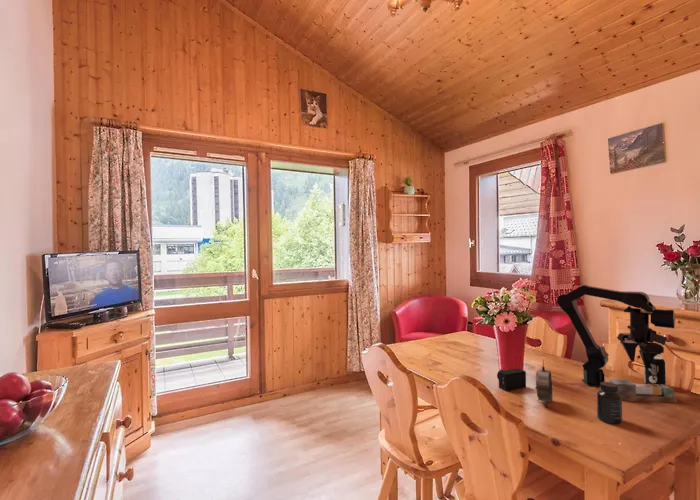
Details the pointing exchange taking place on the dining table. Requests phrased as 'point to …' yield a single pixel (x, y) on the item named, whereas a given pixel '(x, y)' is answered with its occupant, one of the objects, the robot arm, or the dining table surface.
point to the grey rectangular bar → (650, 389)
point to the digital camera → (512, 379)
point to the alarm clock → (544, 385)
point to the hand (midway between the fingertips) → (639, 364)
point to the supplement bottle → (609, 403)
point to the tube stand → (629, 393)
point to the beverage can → (655, 372)
